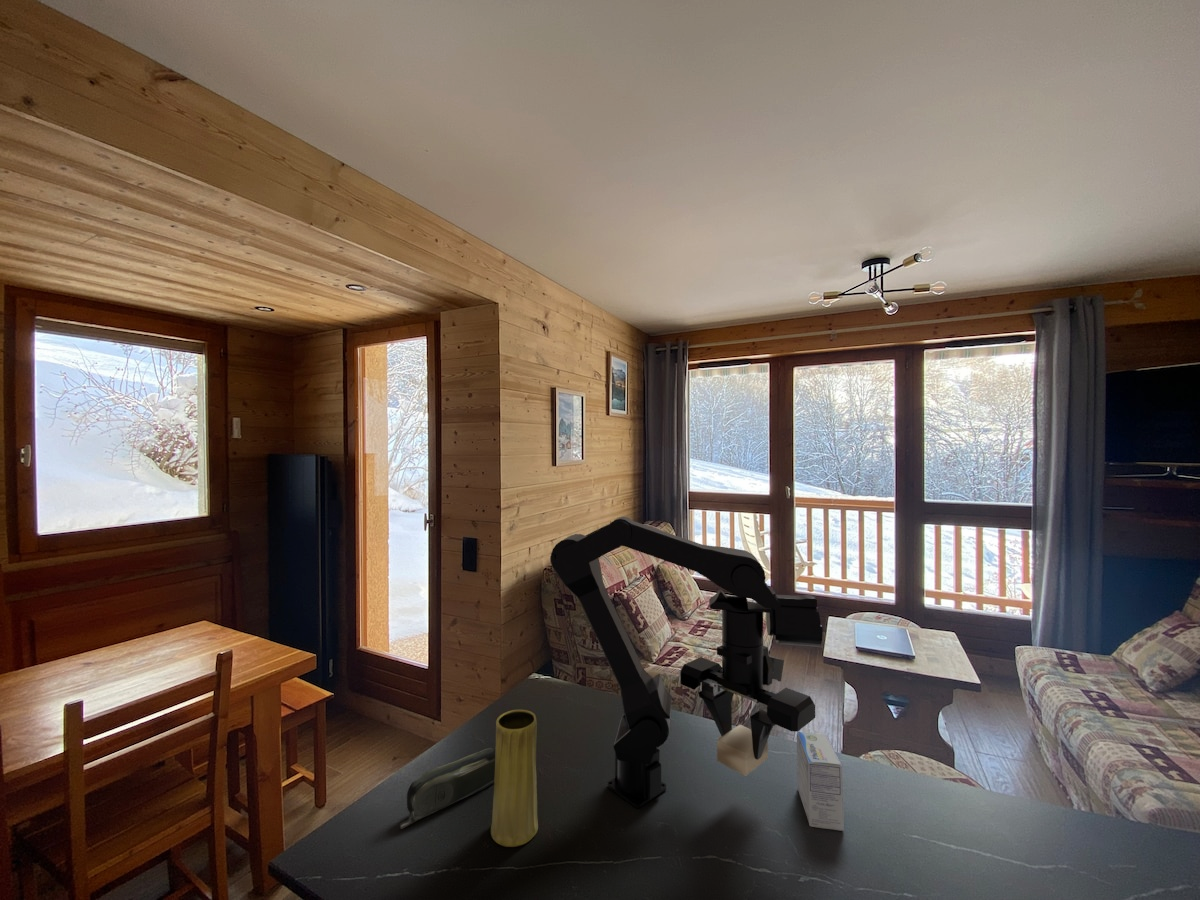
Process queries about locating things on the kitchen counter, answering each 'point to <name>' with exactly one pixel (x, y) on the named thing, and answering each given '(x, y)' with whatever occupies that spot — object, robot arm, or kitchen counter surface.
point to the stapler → (450, 784)
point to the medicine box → (820, 781)
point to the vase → (515, 779)
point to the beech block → (739, 750)
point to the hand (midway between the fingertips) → (742, 750)
